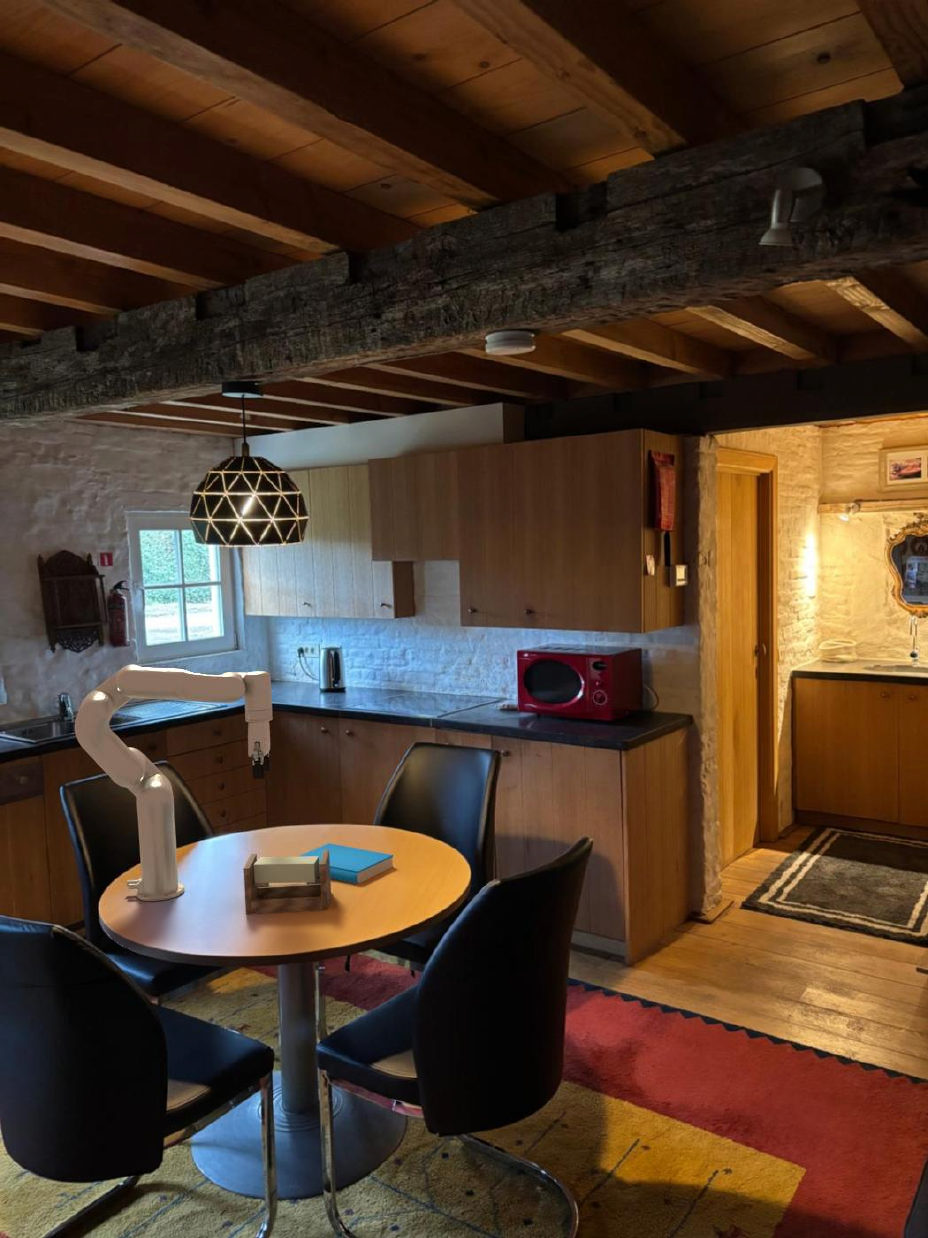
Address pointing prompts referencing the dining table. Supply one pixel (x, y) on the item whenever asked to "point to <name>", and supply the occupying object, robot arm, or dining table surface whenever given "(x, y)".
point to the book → (353, 862)
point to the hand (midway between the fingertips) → (261, 774)
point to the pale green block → (286, 869)
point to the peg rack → (287, 891)
